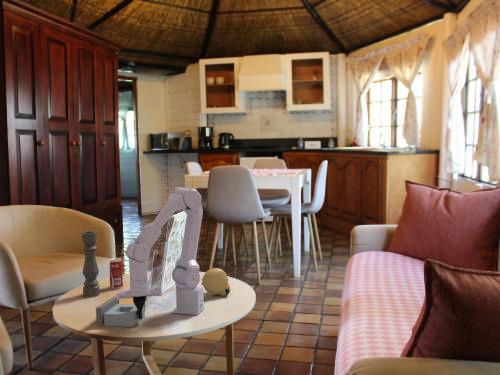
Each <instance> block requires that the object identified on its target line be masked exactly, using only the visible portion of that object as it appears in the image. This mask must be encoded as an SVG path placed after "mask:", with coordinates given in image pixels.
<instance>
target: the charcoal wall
mask: <svg viewBox="0 0 500 375" xmlns="http://www.w3.org/2000/svg"><path fill="white" fill-rule="evenodd" d="M117 304H120V299H117V296H112V297H111V298H109V299H107V301H104V302H103V303H101V304H100V305H98V306H96V307H95V320H96V326H98V327H102V326H103V327H104V313H106V312H107V311H108V310H110V309H111V308H112V307H114V306H115V305H117Z"/></svg>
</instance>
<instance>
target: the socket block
mask: <svg viewBox="0 0 500 375" xmlns="http://www.w3.org/2000/svg"><path fill="white" fill-rule="evenodd" d="M145 312H146V308H145V309H144V306H143V309H142V319H143V318H145V316H146V313H145ZM138 316H139V313H138V310H137V308H136V306H135V304H130V303H129V304H127V303H126V304H123V303H119V304H117V305H115V306H114V307H112V308H111V309H110V310H108V311H107V312H106V313H104V325H103V327H105V326H107V327H122V328H123V327H129V328H130V327H131V328H134V326H136V325H137V324H138V323H139V322H140V321H141V320H142V319H139V318H138Z"/></svg>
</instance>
